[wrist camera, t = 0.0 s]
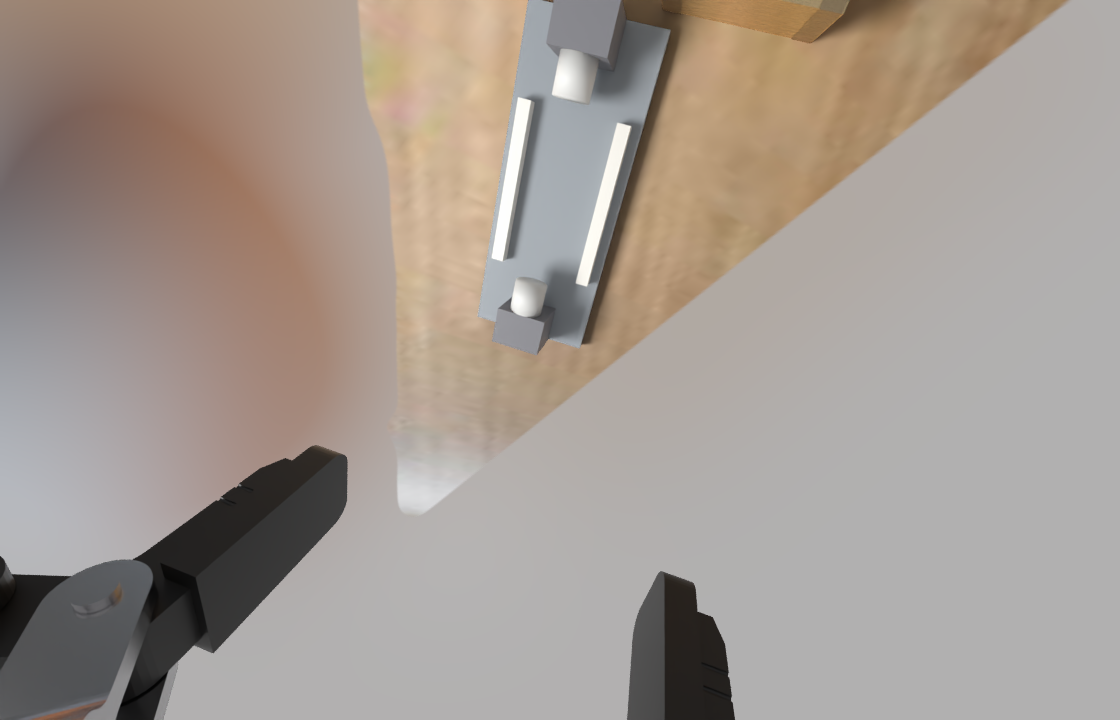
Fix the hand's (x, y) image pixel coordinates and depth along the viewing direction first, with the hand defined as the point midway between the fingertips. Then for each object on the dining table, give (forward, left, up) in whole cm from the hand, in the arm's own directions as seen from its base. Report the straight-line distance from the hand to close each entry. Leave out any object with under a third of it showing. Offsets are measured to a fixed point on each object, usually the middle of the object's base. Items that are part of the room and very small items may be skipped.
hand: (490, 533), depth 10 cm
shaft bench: (-5, -6, -29) cm, 30 cm away
